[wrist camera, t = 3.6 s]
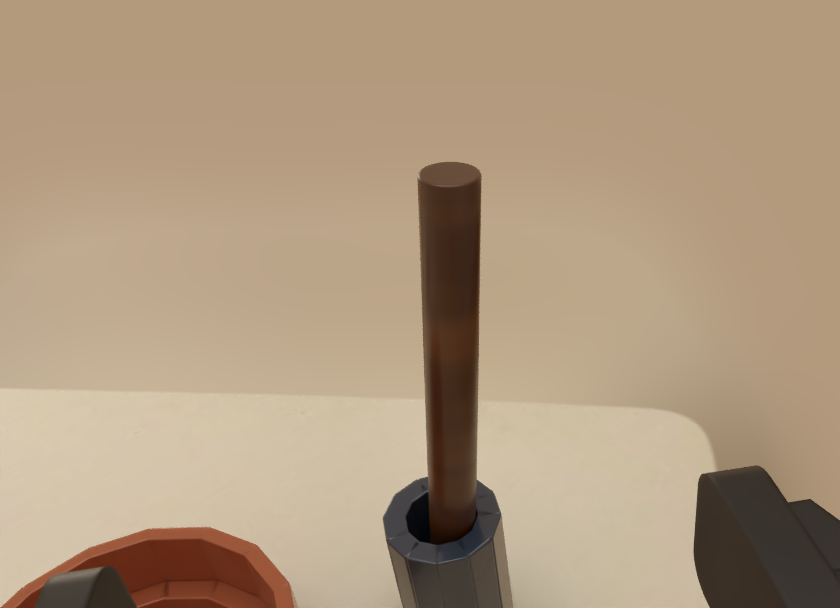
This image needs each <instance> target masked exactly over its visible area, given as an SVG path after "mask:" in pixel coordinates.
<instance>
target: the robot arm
mask: <svg viewBox="0 0 840 608" xmlns="http://www.w3.org/2000/svg"><path fill="white" fill-rule="evenodd" d="M694 561H695V567H696V571H697V576H698V579H699V583H700V586H701V589H702V591H703V594H704V596H705V598H706V600H707V603H708V605H709V607H710V608H840V520H838V519H837V518H836V517H834V516H833V515H831V514H830V513H829V512H827V511H826V510H825V509H823V508H822V507H820V506H819V505H818V504H816V503H815V502H814V501H812V500H811V499H808V500H802V501H796V502H789V503H788V502H787V501H786V499H785V497H784V496H783V495H782V493H781V492H780V490H779V489H778V487H777V486H776V484H775V483H774V481H773V480H772V478H771V477H770V476H769V474H768V473H767V472H766V471H765V470H764V469H763V468H762V467H760V466H751V467H744V468H737V469H731V470H725V471H718V472H712V473H706V474H702V475H701V476H700V478H699V482H698V493H697V507H696V522H695V536H694ZM34 608H137V606H136V604H135V602H134V600H133V599H132V597H131V595H130V593H129V591H128V589H127V587H126V585H125V583H124V581H123V579H122V577H121V575H120V574H119V572H118V571H117V570H116V568H114V567H113V566H104V567H98V568H91V569H85V570H79V571H72V572H66V573H60V574H55V575H53V576H51V577H50V578H49V579H48V580H47V582H46V583H45V585H44V587H43V589H42V591H41V593H40V595H39V598H38V600H37V602H36V604H35V607H34Z"/></svg>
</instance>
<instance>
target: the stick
mask: <svg viewBox="0 0 840 608" xmlns="http://www.w3.org/2000/svg"><path fill="white" fill-rule="evenodd" d="M418 201H419V229H420V230H419V232H420V260H421V290H422V318H423V346H424V347H423V348H424V377H425V406H426V435H427V464H428V494H429V523H430V543H431V544H436V545H440V544H445V543H449V542H453V541H457V540H460V539H461V538H462V537H464V536H465V535H466V534H467V533H469V532H470V531H471V530H472V528H473V525H474V523H475V520H476V487H477V423H478V357H479V293H480V290H479V289H480V229H481V173H480V171H479V170H478V169H477V168H476V167H474V166H472V165H469V164H465V163H459V162H442V163H436V164H432V165H429V166H426V167H424V168H423V169H421V170H420V172H419V173H418Z"/></svg>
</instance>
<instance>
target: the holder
mask: <svg viewBox="0 0 840 608" xmlns="http://www.w3.org/2000/svg"><path fill="white" fill-rule="evenodd" d="M383 523H384V530H385V536H386V541H387V546H388V550H389V554H390V558H391V562H392V566H393V570H394V574H395V578H396V582H397V586H398V590H399V594H400V598H401V602H402V606H403V608H513V602H512V594H511V586H510V578H509V571H508V563H507V555H506V547H505V539H504V532H503V524H502V516H501V511H500V509H499V506H498V503H497V500H496V497H495V494H494V493H493V491H492V490H490V489H489V488H488V487H486V486H485V485H483V484H482V483H481V482H479V481H478V480H477V487H476V520H475V523H474V525H473V528H472V530H471V531H470V532H469V533H467V534H466V535H465V536H464V537H462V538H461V539H460V540H457V541H453V542H449V543H445V544H440V545H436V544H431V543H430V523H429V494H428V477H425V478H421V479H418V480H415V481H414V482H412V483H411V484H409V485H408V486H406V487H405V488H404V489H402V490H401V491H399V492H398V493H396V494H395V495H394V497H393V499H392V501H391V502H390V504H389V506H388V508H387V510H386V512H385V514H384V516H383Z"/></svg>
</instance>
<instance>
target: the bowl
mask: <svg viewBox="0 0 840 608" xmlns="http://www.w3.org/2000/svg"><path fill="white" fill-rule="evenodd" d="M104 566H113V567H114V568H116V570H117V571H118V572H119V574H120V575H121V577H122V579H123V581H124V583H125V585H126V587H127V589H128V591H129V593H130V595H131V597H132V599H133V600H134V602H135V604H136V606H137V608H298V605H297V603H296V600H295V597H294V594H293V592H292V589H291V586H290V584H289V582H288V581H287V579H286V578H285V577H284V576H283V575H282V574H281V572H280V571H279V570H278V569H277V568H276V567H275V565H274V564H273V563H272V562H271V561H270V560H269V558H268V557H267V556H266V555H265V554H264V553H263V551H262V550H261V549H260V548H259V547H258V546H257V545H256V544H253V543H250V542H248V541H245V540H242V539H240V538H237V537H234V536H232V535H229V534H226V533H224V532H221V531H218V530H216V529H213V528H210V527H186V528H152V529H146V530H143V531H140V532H137V533H134V534H131V535H128V536H124V537H121V538H118V539H115V540H112V541H109V542H106V543H103V544H99V545H96V546H93V547H90V548H88V549H86V550H84V551H82V552H81V553H79V554H77V555H76V556H74V557H72V558H71V559H69V560H67V561H66V562H64V563H62V564H61V565H59V566H57V567H56V568H54V569H52V570H50V571H49V572H47V573H45V574H44V575H42V576H40V577H39V578H37V579H35V580H34V581H32V582H30V583H29V584H27V585H25V586H24V587H23V588H21V589H20V590H19V591H18V592H17V593H16V594H15V595H14V596H13V597H11V598H10V599H9V600H8V601H7V602H6V603H5V604H4V605H3V606H2V607H1V608H34V607H35V604H36V602H37V600H38V598H39V595H40V593H41V591H42V589H43V587H44V585H45V583H46V582H47V580H48V579H49V578H50V577H51V576H53V575H55V574H60V573H66V572H72V571H79V570H85V569H91V568H98V567H104Z"/></svg>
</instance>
